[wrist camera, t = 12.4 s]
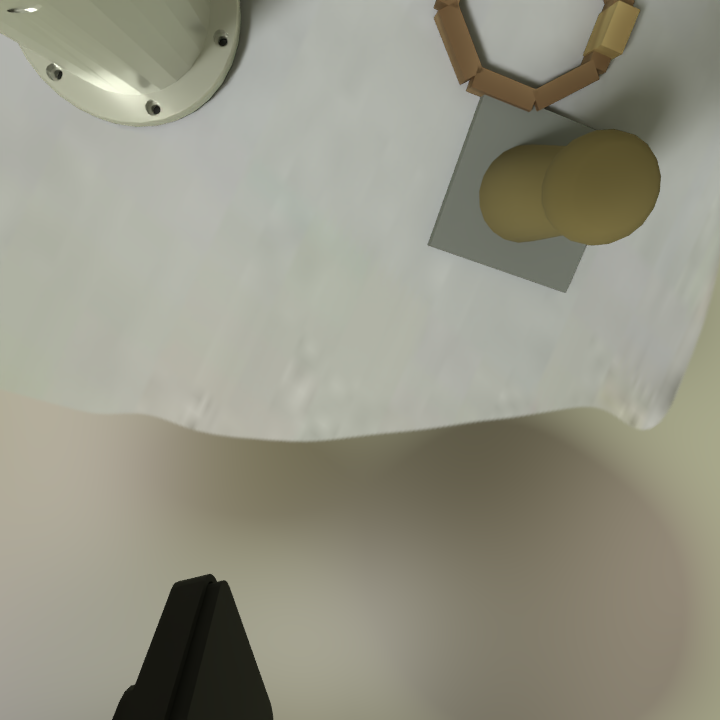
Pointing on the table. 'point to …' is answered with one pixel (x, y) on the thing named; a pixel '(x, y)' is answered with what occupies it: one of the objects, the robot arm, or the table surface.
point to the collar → (597, 55)
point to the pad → (462, 207)
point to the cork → (572, 189)
